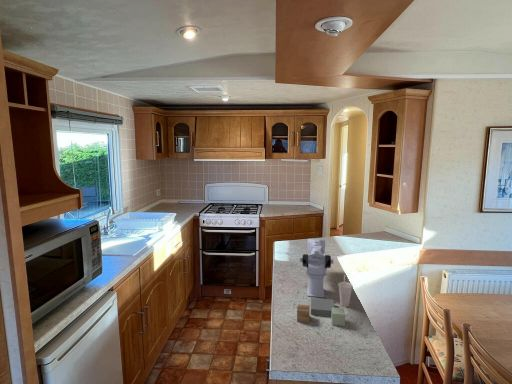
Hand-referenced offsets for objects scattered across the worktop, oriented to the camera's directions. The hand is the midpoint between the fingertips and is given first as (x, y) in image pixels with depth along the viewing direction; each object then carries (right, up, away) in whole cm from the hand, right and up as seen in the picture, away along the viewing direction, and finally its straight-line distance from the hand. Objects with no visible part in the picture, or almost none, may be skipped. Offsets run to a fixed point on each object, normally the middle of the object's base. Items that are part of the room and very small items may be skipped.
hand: (316, 265), depth 132 cm
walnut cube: (-6, -22, -1) cm, 23 cm away
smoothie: (+15, -20, +11) cm, 27 cm away
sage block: (+8, -22, -3) cm, 24 cm away
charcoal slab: (+4, -21, +7) cm, 23 cm away
